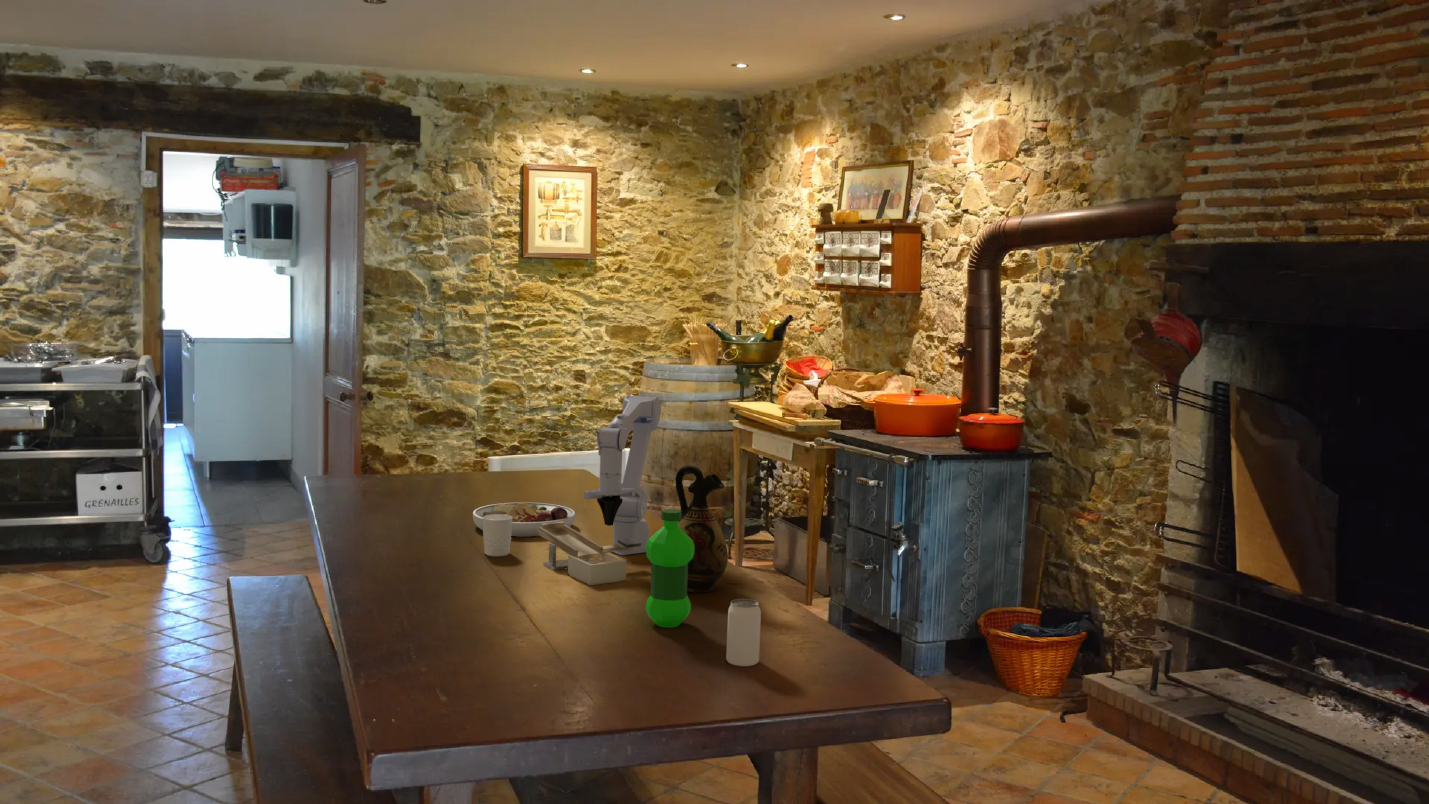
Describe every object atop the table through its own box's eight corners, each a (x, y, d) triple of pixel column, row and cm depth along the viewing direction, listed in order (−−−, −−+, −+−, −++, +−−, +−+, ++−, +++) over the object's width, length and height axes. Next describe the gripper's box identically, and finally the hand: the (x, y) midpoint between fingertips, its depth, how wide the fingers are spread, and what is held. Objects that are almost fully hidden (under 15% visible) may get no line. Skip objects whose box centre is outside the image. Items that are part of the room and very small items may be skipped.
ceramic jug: (734, 584, 279) (739, 465, 276) (714, 599, 265) (719, 474, 262) (671, 576, 285) (675, 459, 282) (648, 590, 270) (652, 468, 267)
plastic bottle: (674, 634, 237) (678, 518, 234) (634, 624, 243) (637, 511, 240) (700, 623, 246) (704, 510, 243) (660, 614, 251) (664, 504, 248)
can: (724, 656, 224) (726, 597, 223) (756, 656, 225) (759, 598, 223) (727, 667, 218) (730, 607, 216) (760, 667, 218) (763, 607, 217)
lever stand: (583, 560, 298) (584, 537, 297) (595, 565, 293) (595, 542, 292) (543, 565, 290) (543, 542, 290) (554, 570, 286) (554, 547, 285)
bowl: (452, 532, 326) (452, 505, 325) (508, 514, 354) (508, 489, 353) (541, 544, 315) (542, 516, 314) (592, 525, 343) (593, 499, 342)
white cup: (505, 558, 296) (505, 521, 295) (477, 555, 298) (477, 518, 297) (516, 551, 304) (517, 515, 303) (489, 549, 306) (489, 513, 305)
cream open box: (602, 570, 288) (603, 551, 287) (625, 580, 279) (626, 560, 278) (567, 574, 282) (568, 555, 281) (590, 585, 273) (590, 565, 272)
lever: (600, 529, 308) (601, 517, 307) (641, 553, 291) (642, 540, 291) (538, 536, 297) (538, 524, 296) (577, 561, 280) (578, 548, 279)
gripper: (594, 477, 285) (592, 529, 286) (642, 474, 294) (640, 525, 295) (580, 473, 291) (578, 524, 292) (628, 470, 299) (626, 520, 300)
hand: (608, 524), depth 294 cm, fingers closed
